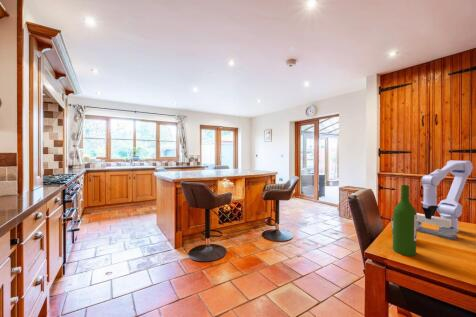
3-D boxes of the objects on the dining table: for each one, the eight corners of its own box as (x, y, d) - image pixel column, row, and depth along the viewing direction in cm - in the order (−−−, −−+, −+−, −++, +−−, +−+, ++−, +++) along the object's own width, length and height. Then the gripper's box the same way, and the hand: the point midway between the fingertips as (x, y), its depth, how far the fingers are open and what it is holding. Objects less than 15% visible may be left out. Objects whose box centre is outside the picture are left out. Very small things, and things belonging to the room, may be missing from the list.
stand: (410, 225, 137) (410, 217, 137) (457, 237, 119) (457, 227, 118) (404, 228, 133) (405, 219, 133) (453, 240, 114) (453, 230, 114)
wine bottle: (417, 258, 96) (419, 187, 95) (393, 253, 100) (394, 185, 100) (414, 250, 103) (415, 184, 102) (391, 246, 108) (392, 183, 107)
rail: (412, 218, 134) (412, 212, 134) (451, 226, 119) (451, 219, 119) (409, 219, 132) (409, 213, 132) (449, 228, 117) (449, 221, 116)
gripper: (425, 193, 132) (425, 214, 132) (416, 195, 124) (416, 218, 125) (440, 194, 126) (440, 217, 126) (432, 198, 118) (432, 221, 119)
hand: (429, 218), depth 125 cm, fingers closed on rail, 4 cm apart
